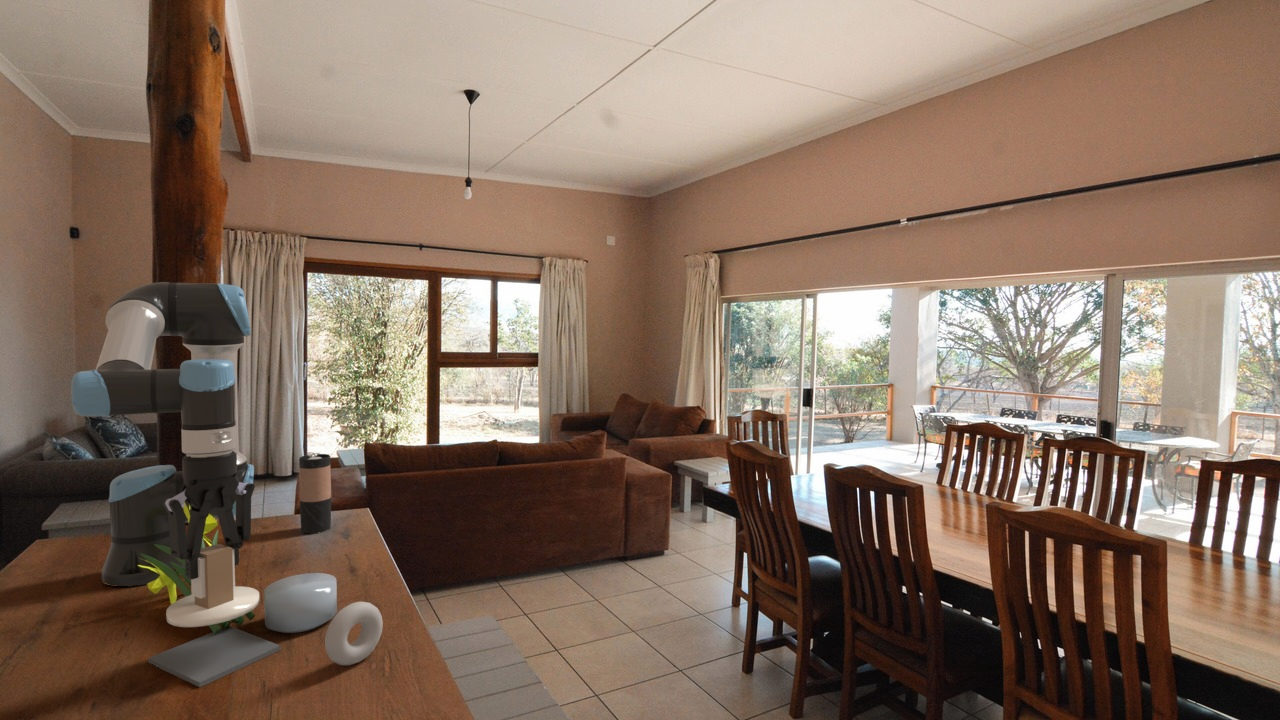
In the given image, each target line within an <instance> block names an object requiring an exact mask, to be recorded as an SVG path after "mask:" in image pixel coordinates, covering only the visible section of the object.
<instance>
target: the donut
mask: <svg viewBox="0 0 1280 720" xmlns="http://www.w3.org/2000/svg"><path fill="white" fill-rule="evenodd" d="M383 622H384V621H383V617H382V614H381V612H380V610H379V609H378V607H377V606H375V605H374V604H372V603H371V602H366V601H355V602H352V603H350V604H347V605H346V606H344V607H343V608H341V609H340V610H339V611H337V613H336V615H335V616H334V617H333V618H332V619H331V620H330V622H329V625H328V626H327V629H326V633H325V638H324V647H325V651H326V652H325V653H326V654H327V657H329V659H330V660H331V661H332V662H333V663H336V664H337V665H340V666H351V665H354V664H357V663H360V662H361V661H363V660H364V659H366V658H367V657H368V656H369V655H370V654H371V653H372V652H373V651H374V650H375V648H376V647H377V644H379V641H380V638H381V636H382V633H383V625H384V624H383ZM357 624H360V625H361V631H360V633H359V635H358V637H357V638H356V639H355V640H354V641H352V642H349V641H348V637H349V633H350V631H351V629H353V627H354V626H355V625H357Z"/></svg>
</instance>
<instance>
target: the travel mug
mask: <svg viewBox="0 0 1280 720" xmlns="http://www.w3.org/2000/svg"><path fill="white" fill-rule="evenodd" d="M298 461H299V462H298V463H299V464H298V465H299V467H298V470H299V472H298V473H299V474H298V475H299V478H298V480H299V481H298V483H299V484H298V485H299V490H298V491H299V514H300V531H301V533H302V532H303V533H302V534H305V533H316V534H319V533H318V532H322V531H325V532H327V531H326V530H328V529H329V530H330V529H331V525H332V524H331V523H332V480H331V479H332V478H331V477H332V476H331V474H332V472H331V456H330V454H327V453H318V454H317V455H315V456H310V455H307V454H306V455H302V456H300V457H299V459H298ZM329 530H328V531H329ZM322 533H323V532H322Z"/></svg>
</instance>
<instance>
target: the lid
mask: <svg viewBox="0 0 1280 720" xmlns="http://www.w3.org/2000/svg"><path fill="white" fill-rule="evenodd" d="M211 545H212V544H211ZM200 557H203V558H205V588H206V597H204V598H198V597H195V596H192V595H189V596H187V597H185V596H184V597H182V598H180V599H178V600H176V602H174V603H173V604H171V603H170V605H169V606H168V607H167V608H166V613H165V615H166V619H165V621H166V622H167V623H168V624H169V625H172V626H174V627H178V628H179V627H180V628H198V627H206V626H208V625H213V624H220V623H222V622H225V621H231V620H232V619H235V618H237V617H240V616H245V614H246V613H248V612H250V611H252V612H253V610H255V609H256V608H257V607H258V606H259V604H260V592H259V590H257V589H256V588H254V587H249V586H236V585H235V587H233V561H232V548H231V547H228V546H227V545H223V544H220V543H217V544H216V545H212V546H209V545H208V546H205V548H202V549H201V550H200Z"/></svg>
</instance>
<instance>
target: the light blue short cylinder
mask: <svg viewBox="0 0 1280 720" xmlns="http://www.w3.org/2000/svg"><path fill="white" fill-rule="evenodd" d="M337 582H338V581H337V578H336V577H335V576H334V575H332V574H330V573H329V574H328V573H322V572H309V573H308V572H307V573H300V574H295V575H291V576H287V577H284V578H281V579H278V580H276V581H274V582H272V583H270V584H269V585H267V586H266V587H265V589H264V591H263V592H264V594H263V595H264V596H263V597H264V625H265V627H266V628H267V629H269V630H271V631H275V632H279V633H283V634H297V633H302V632H308V631H310V630H314V629H317V628H318V627H321V626H323V625H324V624H325V623H327V622H329V621H331V620H333V618H334V617H335V615H336V614H337V613H338V596H337V595H338V591H337V590H338V588H337V586H338V585H337Z"/></svg>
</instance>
